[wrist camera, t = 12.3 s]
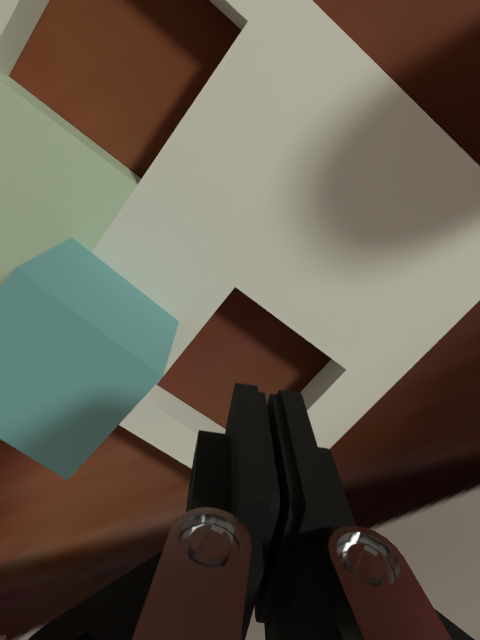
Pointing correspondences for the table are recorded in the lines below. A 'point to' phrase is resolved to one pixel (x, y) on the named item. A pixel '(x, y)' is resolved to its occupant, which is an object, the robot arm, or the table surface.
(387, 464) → the table surface
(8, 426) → the block
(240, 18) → the tray
